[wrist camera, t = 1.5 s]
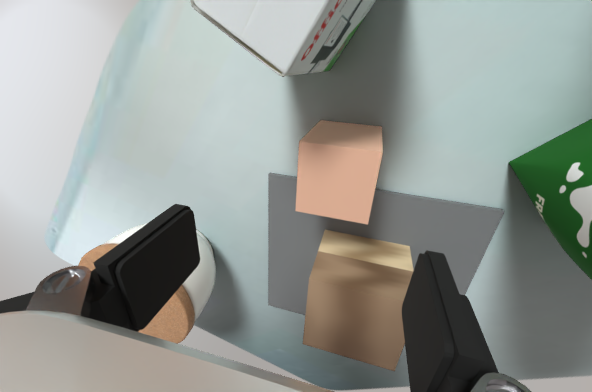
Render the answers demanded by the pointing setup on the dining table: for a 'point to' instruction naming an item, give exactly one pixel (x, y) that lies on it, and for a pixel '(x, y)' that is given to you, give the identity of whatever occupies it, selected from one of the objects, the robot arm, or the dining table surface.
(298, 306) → the rubber mat
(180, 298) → the lidded bowl
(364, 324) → the walnut slab
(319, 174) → the terracotta block
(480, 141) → the dining table surface
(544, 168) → the milk carton
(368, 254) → the oak slab
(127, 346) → the robot arm
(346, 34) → the ink box
